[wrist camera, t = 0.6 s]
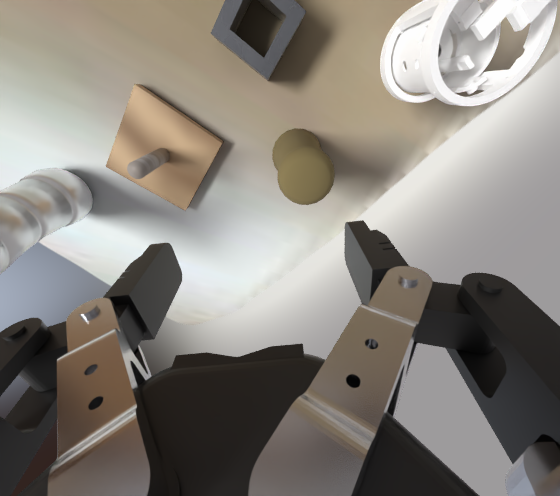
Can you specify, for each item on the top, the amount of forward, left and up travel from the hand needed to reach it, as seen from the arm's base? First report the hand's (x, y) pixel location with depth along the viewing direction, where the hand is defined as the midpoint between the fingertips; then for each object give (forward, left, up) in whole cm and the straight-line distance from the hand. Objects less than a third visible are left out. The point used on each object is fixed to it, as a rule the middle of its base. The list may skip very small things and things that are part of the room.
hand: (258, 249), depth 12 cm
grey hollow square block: (-9, -7, -23) cm, 25 cm away
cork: (-2, +3, -23) cm, 23 cm away
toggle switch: (+7, -10, -23) cm, 26 cm away
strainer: (-15, +6, -23) cm, 28 cm away
